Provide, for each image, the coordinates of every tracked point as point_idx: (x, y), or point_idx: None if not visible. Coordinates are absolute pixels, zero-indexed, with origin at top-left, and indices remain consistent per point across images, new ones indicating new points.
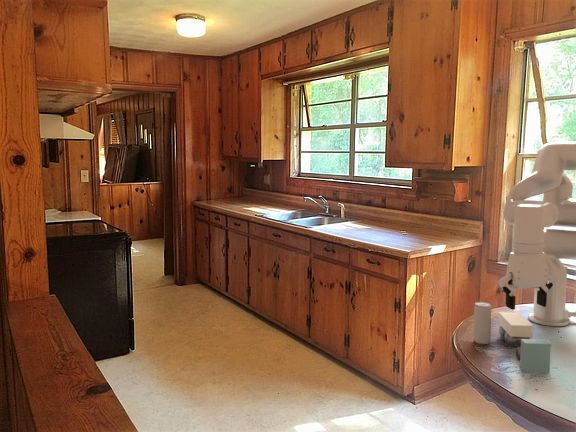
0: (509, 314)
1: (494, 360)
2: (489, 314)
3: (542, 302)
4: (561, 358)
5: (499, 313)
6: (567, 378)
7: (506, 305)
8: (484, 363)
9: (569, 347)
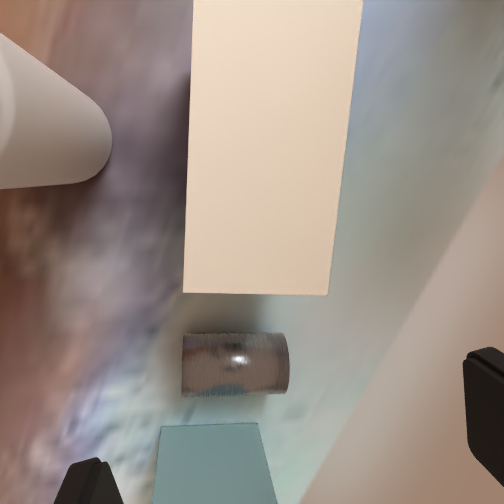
0: (267, 29)
1: (72, 369)
2: (18, 175)
3: (499, 468)
4: (365, 329)
5: None
6: (295, 489)
7: (70, 476)
8: (15, 403)
9: (460, 214)
